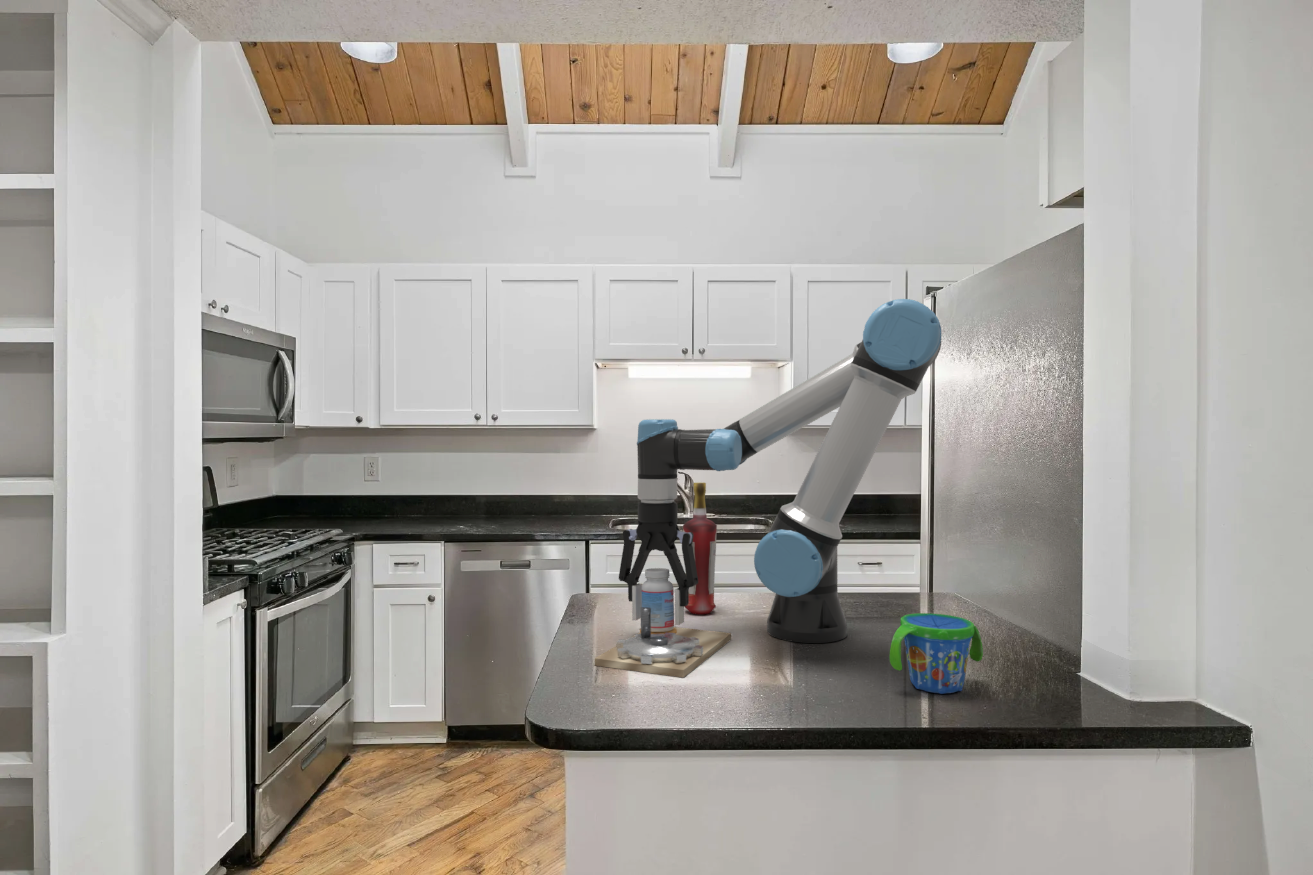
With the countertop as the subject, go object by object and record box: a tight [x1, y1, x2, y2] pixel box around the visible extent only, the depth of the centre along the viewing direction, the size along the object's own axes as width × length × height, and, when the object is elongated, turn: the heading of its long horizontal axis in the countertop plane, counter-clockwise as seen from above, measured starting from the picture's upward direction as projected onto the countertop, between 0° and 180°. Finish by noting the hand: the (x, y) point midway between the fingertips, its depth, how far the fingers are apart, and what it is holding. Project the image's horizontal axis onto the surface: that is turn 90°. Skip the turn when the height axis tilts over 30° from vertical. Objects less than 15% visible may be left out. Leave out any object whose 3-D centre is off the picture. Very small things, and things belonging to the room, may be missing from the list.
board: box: [594, 626, 732, 678], centre depth 133 cm, size 16×24×1 cm, turn 156°
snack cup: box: [888, 612, 984, 695], centre depth 114 cm, size 16×10×10 cm
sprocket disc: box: [615, 607, 703, 664], centre depth 129 cm, size 15×15×6 cm
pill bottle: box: [641, 567, 675, 632], centre depth 142 cm, size 6×6×11 cm
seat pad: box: [639, 627, 677, 634], centre depth 142 cm, size 7×7×1 cm
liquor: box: [682, 481, 718, 616], centre depth 163 cm, size 7×7×28 cm
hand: (658, 620), depth 142 cm, fingers open, 8 cm apart
